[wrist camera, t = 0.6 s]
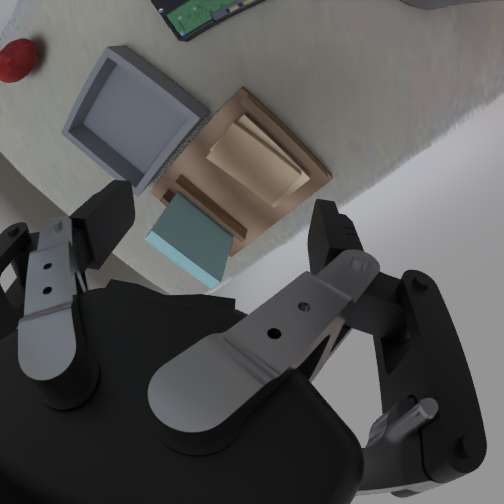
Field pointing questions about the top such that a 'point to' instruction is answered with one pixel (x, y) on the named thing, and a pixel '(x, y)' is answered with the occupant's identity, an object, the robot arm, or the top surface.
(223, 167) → the offcut upper
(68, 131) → the tray
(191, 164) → the rack
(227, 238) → the teal rectangular slab
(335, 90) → the top surface
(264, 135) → the offcut lower
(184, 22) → the disk drive
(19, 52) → the onion
